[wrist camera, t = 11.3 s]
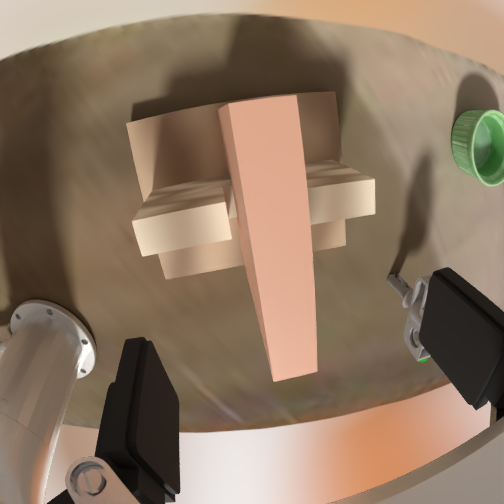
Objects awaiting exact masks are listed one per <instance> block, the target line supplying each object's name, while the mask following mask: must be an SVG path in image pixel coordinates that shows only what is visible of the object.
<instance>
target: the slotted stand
mask: <svg viewBox="0 0 504 504" xmlns="http://www.w3.org/2000/svg"><path fill="white" fill-rule="evenodd" d="M291 95H296V96H297V104H298V111H299V119H300V126H301V135H302V143H303V152H304V161H305V170H306V180H307V190H308V201H309V213H310V225H311V238H312V252H314V251H319V250H324V249H329V248H334V247H339V246H344V245H346V236H345V219H348V218H353V217H359V216H365V215H371V214H375V179H373V178H371V177H369V176H367V175H365V174H363V173H361V172H358V171H356V170H354V169H352V168H350V167H347V166H345V165H343V164H342V152H341V140H340V129H339V119H338V109H337V100H336V92H335V91H326V92H308V93H294V94H283V95H273V96H264V97H256V98H248V99H241V100H234V101H228V102H221V103H215V104H210V105H204V106H199V107H194V108H189V109H184V110H179V111H174V112H170V113H166V114H161V115H157V116H153V117H149V118H145V119H141V120H137V121H134V122H130V123H126V124H127V129H128V134H129V139H130V144H131V148H132V153H133V158H134V162H135V167H136V171H137V175H138V180H139V184H140V188H141V192H142V196H143V200H144V203H143V205H142V206H141V208H140V209H139V211H138V212H137V214H136V215H135V217H134V219H133V220H132V224H133V227H134V231H135V234H136V237H137V241H138V244H139V247H140V251H141V254H142V256H148V255H153V254H158V255H159V258H160V262H161V265H162V268H163V272H164V275H165V278H166V279H171V278H176V277H182V276H187V275H193V274H198V273H204V272H209V271H214V270H220V269H225V268H230V267H236V266H241V265H245V264H244V259H243V254H242V248H241V243H240V237H239V231H238V226H237V220H236V217H237V211H236V206H235V200H234V194H233V188H232V182H231V177H230V174H229V171H228V168H227V163H226V157H225V151H224V146H223V140H222V134H221V128H220V122H219V116H218V109H220V108H221V107H223V106H225V105H226V104H228V103H234V102H241V101H248V100H255V99H263V98H272V97H281V96H291Z"/></svg>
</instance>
